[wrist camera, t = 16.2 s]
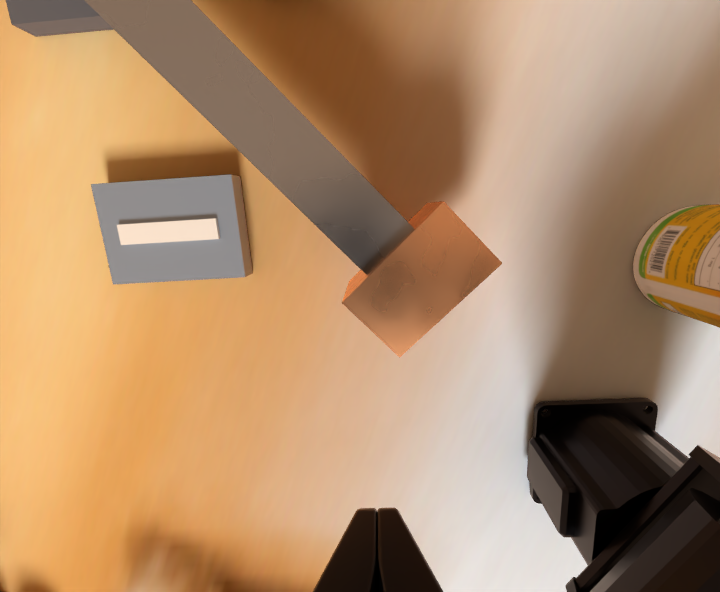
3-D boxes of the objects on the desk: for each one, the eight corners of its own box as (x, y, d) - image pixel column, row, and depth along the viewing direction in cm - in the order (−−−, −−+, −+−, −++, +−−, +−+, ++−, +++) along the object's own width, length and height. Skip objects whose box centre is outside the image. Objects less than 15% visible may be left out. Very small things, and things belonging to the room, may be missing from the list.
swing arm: (-7, -67, 15) (-183, -193, 11) (58, -179, 14) (-103, -375, 10) (392, 318, 19) (399, 357, 14) (467, 248, 18) (502, 263, 13)
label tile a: (240, 176, 19) (229, 173, 17) (252, 272, 20) (243, 277, 19) (108, 185, 19) (87, 184, 18) (128, 279, 20) (110, 285, 19)
